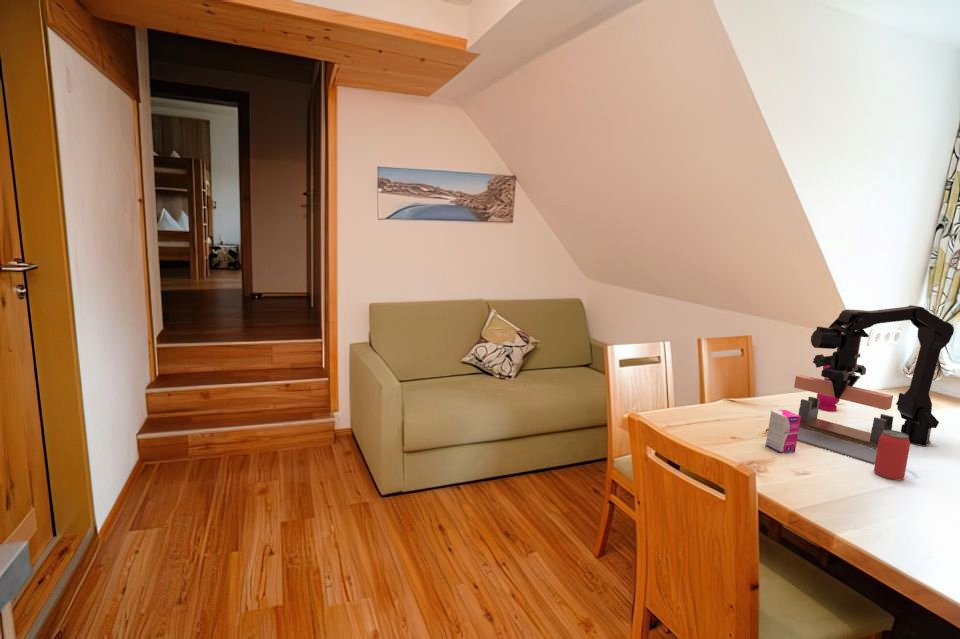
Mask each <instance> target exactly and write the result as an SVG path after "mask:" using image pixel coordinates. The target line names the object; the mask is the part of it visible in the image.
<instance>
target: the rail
mask: <svg viewBox="0 0 960 639" xmlns="http://www.w3.org/2000/svg"><path fill="white" fill-rule="evenodd" d="M793 386H794V387H793V388H795V389H799V390H803V391H807V392H810V393H815V394H822V395H826V396H830V397H834V398H835V395H834V389H833V384H832V382H831V381H827V380H824V379H821V378H816V377H813V376H808V375H804V374H799V375H795V380H794V385H793ZM893 398H894V395H891V394H889V393H888V394H887V393H882V392H879V391H874V390H870V389H865V388H861V387H857V386H854V385H853V386H849V385H847V387H846V389H845V390H844V392H843V393H842V395H841V397H840V398H839V400H843V401H846V402H847V401H848V402H851V403H854V404H859V405H864V406H867V407H872V408H876V409H880V410H884V411H889V410H890V409H892V406H893V405H892V404H893Z"/></svg>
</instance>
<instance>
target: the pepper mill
mask: <svg viewBox="0 0 960 639" xmlns="http://www.w3.org/2000/svg"><path fill="white" fill-rule="evenodd" d="M828 367H830V366H822V370H823V369H825V368H828ZM823 378H824V379H823V380H827V381H831V380H830V379H829V378H826V377H823ZM831 382H832V381H831ZM816 398H819V406H818V407H819V409H818V410H821V411H825V412H836V411H837V408H838V406H837V404H838V403H839V402H840V399H837V398H834V397H830V396H826V395H822V394H818V393H816Z"/></svg>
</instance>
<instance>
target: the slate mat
mask: <svg viewBox="0 0 960 639" xmlns="http://www.w3.org/2000/svg"><path fill="white" fill-rule="evenodd" d="M767 431H768V428H766V429H765V432H767ZM799 441H800V442H801V443H804V444H806V445H809V444H810V445H809V446H812V445H813V447H817V448H819V449H822V448H823V449H822V450H825V449H826V450H825V451H828V450H830V451H829V452H832V451H833V452H832V453H835V452H836V454H838V453H839V455H841V454H842V456H845V455H846V457H848V456H849V457H848V458H851V457H852V459H855V460H858V461H861V462H865V463H867V464H871V465H875V460H876V454H877V449H875V448H872V447H868V446H865V445H861V444H858V443H854V442H851V441H848V440H844V439H841V438H837V437H834V436H830V435H827V434H823V433H820V432H816V431H813V430H809V429H806V428H803V427H799V431H798V437H797V442H799Z"/></svg>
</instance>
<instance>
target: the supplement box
mask: <svg viewBox="0 0 960 639" xmlns="http://www.w3.org/2000/svg"><path fill="white" fill-rule="evenodd" d="M800 419H801V416H799V415H798V414H796V413H793V412H792V411H789V410H787V409H779V410H775V409H774V410H771V411H770V416H769V422H768V428H767V429H768V432H767V435H766V439H765V440H766V441H765V447H767V448H769V449H771V450H772V451H775V452H777V453H778V454H782V453H785V454H786V453H795V452H796V447H797V442H798V441H797V437H798V431H799V428H800V427H799V425H800Z"/></svg>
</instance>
